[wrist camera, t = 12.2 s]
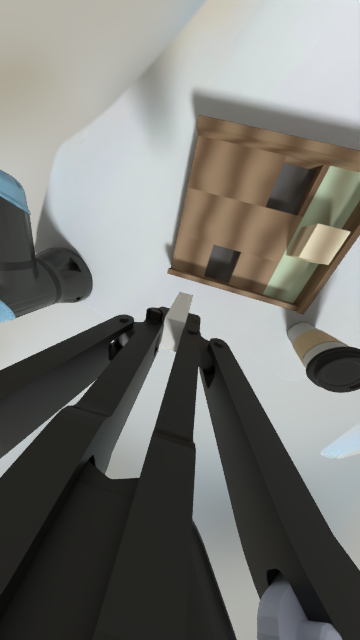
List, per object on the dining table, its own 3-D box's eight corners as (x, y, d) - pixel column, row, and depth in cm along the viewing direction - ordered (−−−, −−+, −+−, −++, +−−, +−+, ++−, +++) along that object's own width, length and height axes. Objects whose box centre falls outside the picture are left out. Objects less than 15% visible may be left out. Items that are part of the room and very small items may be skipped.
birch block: (286, 255, 30) (298, 256, 26) (301, 227, 28) (318, 223, 24) (311, 262, 30) (328, 264, 26) (328, 234, 28) (350, 231, 23)
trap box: (172, 270, 38) (166, 274, 33) (200, 136, 27) (198, 109, 22) (290, 304, 36) (303, 314, 31) (372, 176, 25) (414, 157, 20)
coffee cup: (309, 351, 41) (355, 401, 27) (273, 342, 42) (301, 387, 28) (330, 320, 36) (398, 362, 23) (290, 311, 37) (332, 347, 24)
